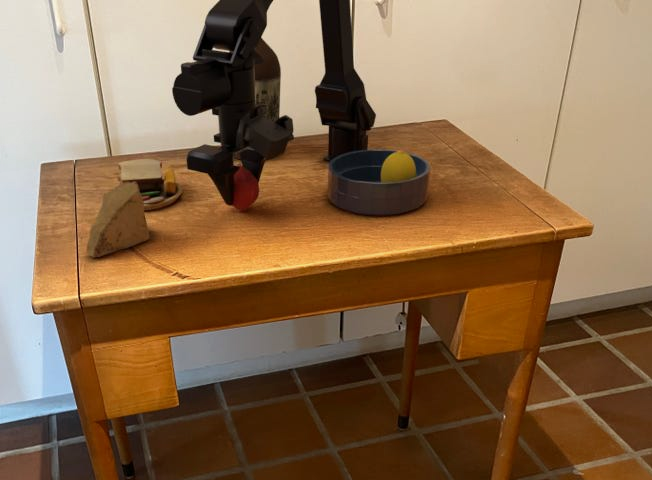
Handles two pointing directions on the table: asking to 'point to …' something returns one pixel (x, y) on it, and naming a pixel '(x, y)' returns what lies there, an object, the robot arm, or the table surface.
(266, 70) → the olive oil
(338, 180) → the bowl
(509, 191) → the table surface
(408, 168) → the lemon
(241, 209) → the onion
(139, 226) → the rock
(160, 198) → the toy sandwich meal
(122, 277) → the table surface
